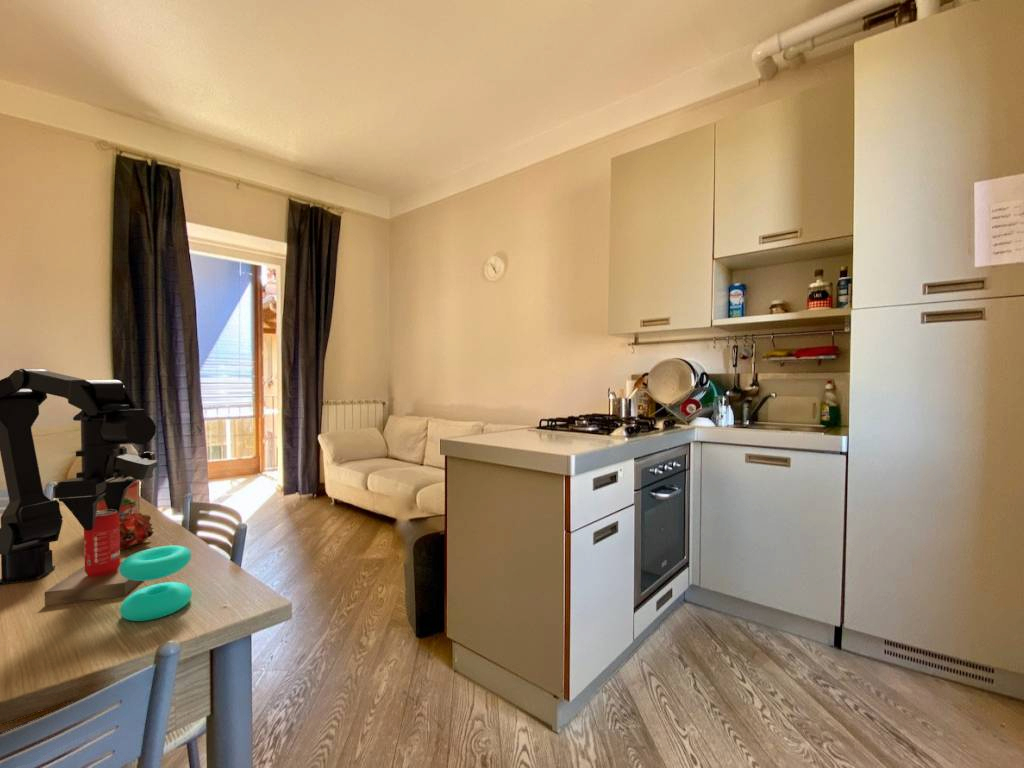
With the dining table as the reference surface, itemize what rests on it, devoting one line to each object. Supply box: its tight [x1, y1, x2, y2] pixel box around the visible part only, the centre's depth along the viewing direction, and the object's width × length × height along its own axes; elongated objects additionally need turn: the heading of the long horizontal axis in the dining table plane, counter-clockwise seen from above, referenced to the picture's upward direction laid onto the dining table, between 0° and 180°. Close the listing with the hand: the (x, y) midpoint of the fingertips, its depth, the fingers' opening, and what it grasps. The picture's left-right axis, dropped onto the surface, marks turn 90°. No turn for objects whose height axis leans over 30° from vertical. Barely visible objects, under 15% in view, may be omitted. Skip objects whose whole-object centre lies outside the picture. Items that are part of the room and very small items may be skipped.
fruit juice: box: [96, 444, 141, 518], centre depth 129 cm, size 9×9×28 cm
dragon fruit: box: [119, 511, 154, 550], centre depth 113 cm, size 8×8×12 cm
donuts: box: [119, 544, 193, 622], centre depth 81 cm, size 10×10×10 cm
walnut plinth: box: [44, 561, 142, 607], centre depth 90 cm, size 12×12×2 cm
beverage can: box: [83, 509, 121, 578], centre depth 91 cm, size 5×5×12 cm
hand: (102, 523), depth 90 cm, fingers open, 9 cm apart
